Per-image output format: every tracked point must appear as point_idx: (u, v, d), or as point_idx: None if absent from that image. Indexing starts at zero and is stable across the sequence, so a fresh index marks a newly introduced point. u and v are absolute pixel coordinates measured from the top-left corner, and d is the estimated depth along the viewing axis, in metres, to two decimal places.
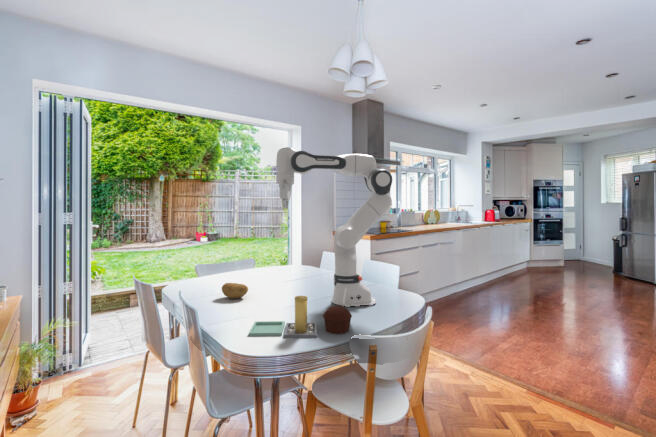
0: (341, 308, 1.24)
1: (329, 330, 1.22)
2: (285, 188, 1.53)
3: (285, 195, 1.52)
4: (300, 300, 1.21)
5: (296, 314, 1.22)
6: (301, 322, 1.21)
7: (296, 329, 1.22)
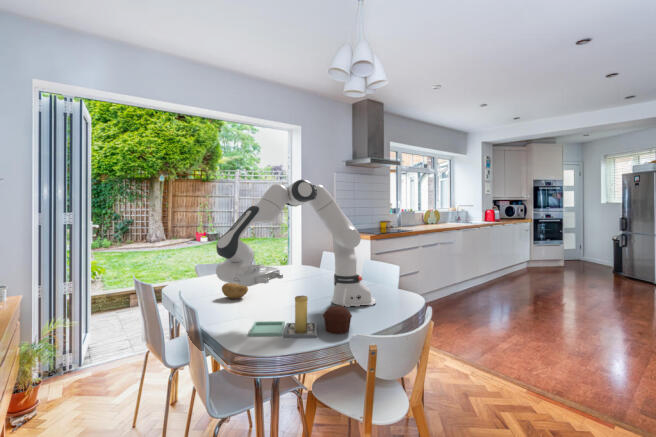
0: (341, 308, 1.24)
1: (329, 330, 1.22)
2: (240, 278, 1.24)
3: (246, 279, 1.23)
4: (300, 300, 1.21)
5: (296, 314, 1.22)
6: (301, 322, 1.21)
7: (296, 329, 1.22)
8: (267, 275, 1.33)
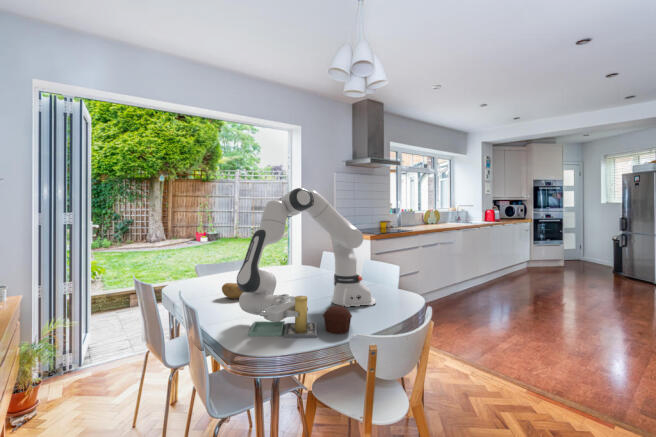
0: (341, 308, 1.24)
1: (329, 330, 1.22)
2: (267, 313, 1.19)
3: (274, 314, 1.17)
4: (300, 300, 1.21)
5: None
6: (301, 322, 1.21)
7: (296, 329, 1.22)
8: (294, 307, 1.27)
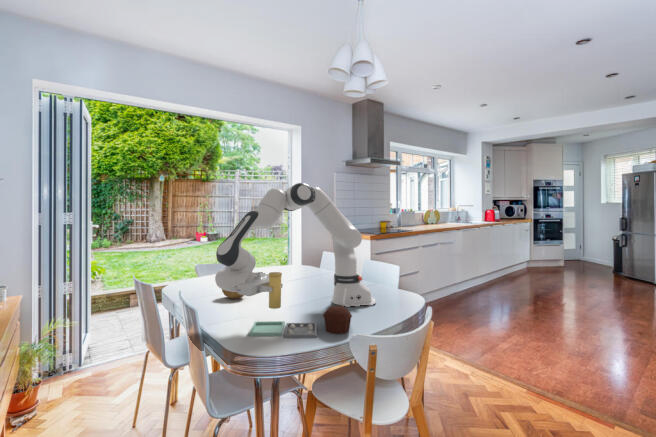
0: (341, 308, 1.24)
1: (329, 330, 1.22)
2: (240, 287, 1.19)
3: (247, 288, 1.17)
4: (274, 276, 1.21)
5: None
6: (274, 297, 1.22)
7: (270, 304, 1.23)
8: (268, 284, 1.28)
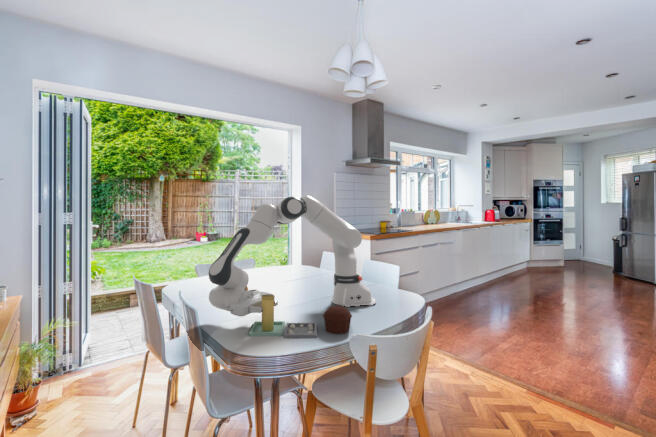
0: (341, 308, 1.24)
1: (329, 330, 1.22)
2: (233, 307, 1.20)
3: (239, 309, 1.18)
4: (266, 299, 1.23)
5: (262, 312, 1.24)
6: (267, 320, 1.23)
7: (262, 327, 1.24)
8: (261, 302, 1.29)
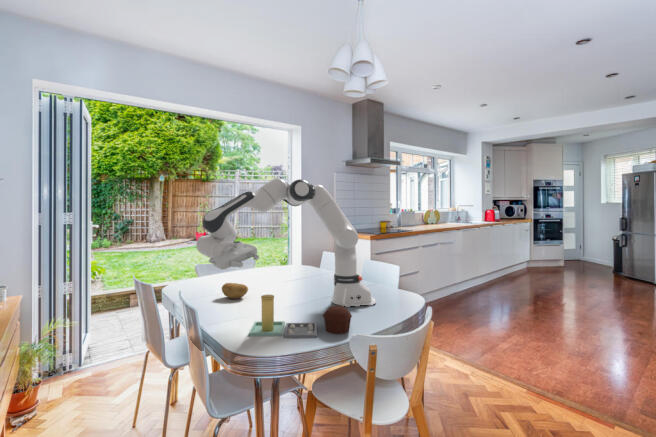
0: (341, 308, 1.24)
1: (329, 330, 1.22)
2: (215, 260, 1.29)
3: (220, 263, 1.27)
4: (266, 299, 1.22)
5: (262, 313, 1.23)
6: (267, 320, 1.23)
7: (262, 327, 1.24)
8: (243, 255, 1.37)
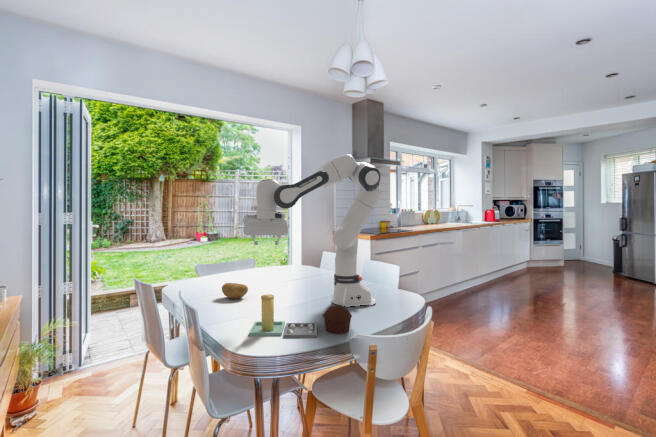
0: (341, 308, 1.24)
1: (329, 330, 1.22)
2: None
3: None
4: (266, 299, 1.22)
5: (262, 312, 1.24)
6: (267, 320, 1.23)
7: (262, 327, 1.24)
8: None
